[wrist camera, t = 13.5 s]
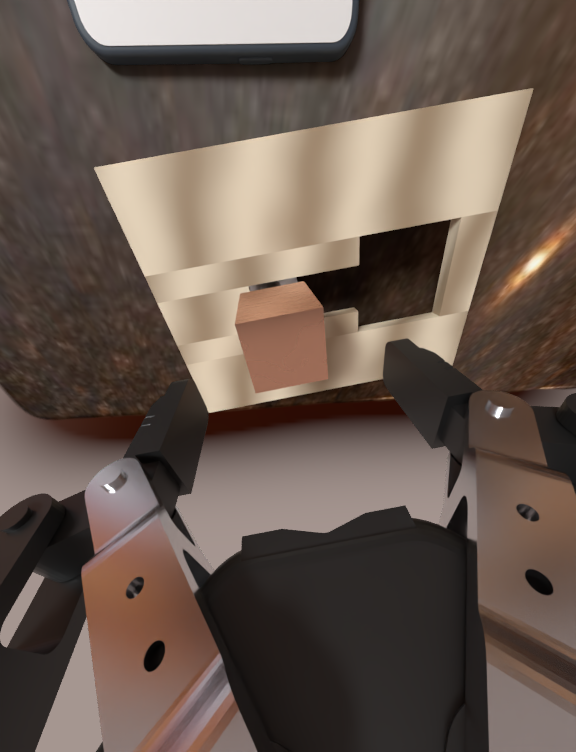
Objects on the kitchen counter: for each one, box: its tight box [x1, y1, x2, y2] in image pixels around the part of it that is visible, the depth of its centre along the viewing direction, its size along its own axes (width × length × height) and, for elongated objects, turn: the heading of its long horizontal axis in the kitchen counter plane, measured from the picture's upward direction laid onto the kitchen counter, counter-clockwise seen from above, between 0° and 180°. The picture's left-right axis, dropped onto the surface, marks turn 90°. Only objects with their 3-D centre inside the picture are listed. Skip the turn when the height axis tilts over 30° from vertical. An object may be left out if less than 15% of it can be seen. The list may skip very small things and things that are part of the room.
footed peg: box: [235, 277, 328, 393], centre depth 17 cm, size 5×5×14 cm
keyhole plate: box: [94, 88, 534, 413], centre depth 20 cm, size 24×18×6 cm
